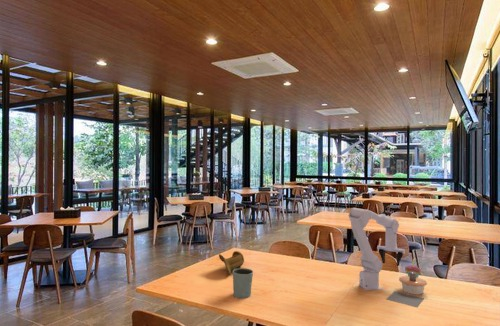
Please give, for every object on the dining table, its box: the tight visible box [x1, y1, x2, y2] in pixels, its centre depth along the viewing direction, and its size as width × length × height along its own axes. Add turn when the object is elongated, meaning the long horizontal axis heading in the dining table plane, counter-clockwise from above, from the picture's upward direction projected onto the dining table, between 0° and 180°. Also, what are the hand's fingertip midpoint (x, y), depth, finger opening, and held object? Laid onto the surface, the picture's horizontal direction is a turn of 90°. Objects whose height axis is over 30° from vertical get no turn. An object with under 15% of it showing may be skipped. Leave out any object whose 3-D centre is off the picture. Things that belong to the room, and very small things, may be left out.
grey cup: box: [232, 267, 254, 299], centre depth 163 cm, size 10×10×12 cm
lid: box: [398, 272, 428, 287], centre depth 171 cm, size 13×13×5 cm
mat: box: [386, 290, 425, 308], centre depth 160 cm, size 14×14×1 cm
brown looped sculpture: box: [218, 250, 245, 276], centre depth 202 cm, size 18×13×22 cm
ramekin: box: [401, 282, 425, 295], centre depth 171 cm, size 11×11×5 cm
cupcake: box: [404, 258, 422, 278], centre depth 193 cm, size 9×8×12 cm
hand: (390, 264), depth 184 cm, fingers open, 7 cm apart
